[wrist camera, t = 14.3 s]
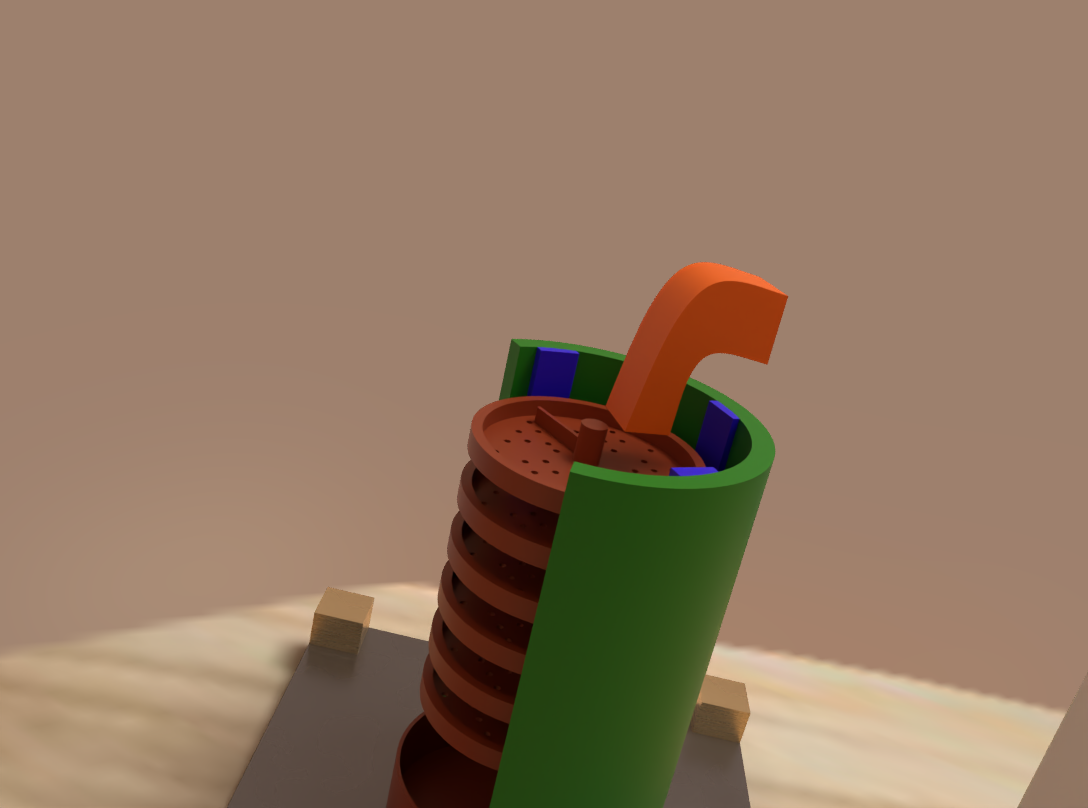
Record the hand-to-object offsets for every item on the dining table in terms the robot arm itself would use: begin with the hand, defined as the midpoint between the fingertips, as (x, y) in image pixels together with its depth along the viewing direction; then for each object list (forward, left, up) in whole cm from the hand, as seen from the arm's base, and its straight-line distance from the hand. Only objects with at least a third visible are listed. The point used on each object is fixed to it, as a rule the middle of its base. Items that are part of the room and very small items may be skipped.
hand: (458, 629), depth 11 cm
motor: (+3, +19, -20) cm, 27 cm away
